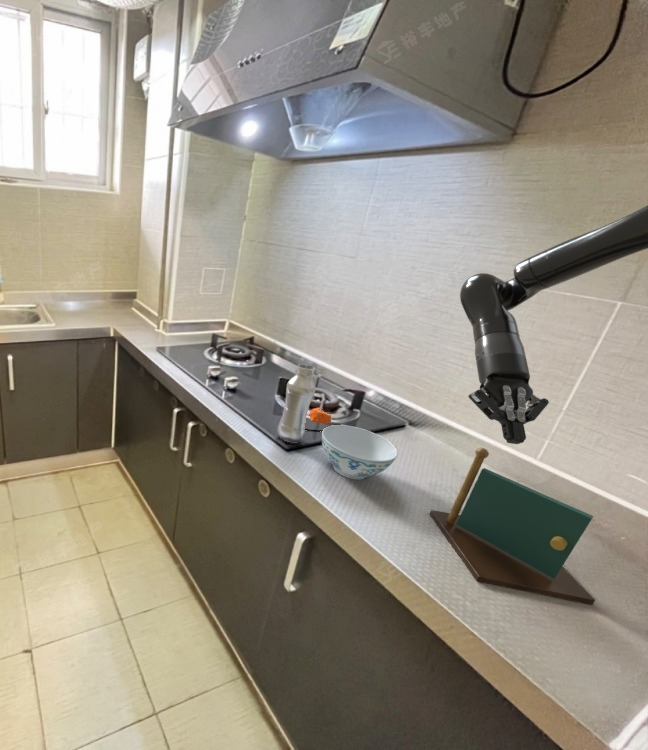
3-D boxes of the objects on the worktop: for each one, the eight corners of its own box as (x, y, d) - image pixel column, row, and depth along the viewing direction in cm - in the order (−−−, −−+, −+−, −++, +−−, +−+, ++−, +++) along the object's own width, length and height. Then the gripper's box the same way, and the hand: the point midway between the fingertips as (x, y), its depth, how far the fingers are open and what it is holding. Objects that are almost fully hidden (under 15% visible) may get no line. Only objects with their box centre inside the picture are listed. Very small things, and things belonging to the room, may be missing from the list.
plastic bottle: (302, 449, 96) (322, 373, 88) (274, 442, 98) (291, 368, 90) (302, 437, 101) (321, 365, 94) (275, 431, 103) (291, 360, 96)
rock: (329, 413, 117) (333, 400, 115) (348, 434, 105) (353, 420, 104) (290, 410, 116) (293, 397, 115) (305, 430, 105) (308, 416, 103)
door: (556, 576, 62) (593, 516, 58) (551, 583, 61) (589, 522, 56) (458, 522, 72) (484, 467, 68) (452, 527, 71) (478, 472, 67)
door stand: (520, 530, 74) (562, 453, 68) (592, 605, 59) (654, 515, 53) (429, 513, 76) (461, 438, 70) (476, 581, 62) (523, 493, 56)
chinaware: (309, 447, 97) (316, 420, 94) (373, 458, 94) (383, 431, 91) (321, 484, 83) (330, 453, 80) (397, 498, 80) (409, 466, 78)
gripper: (476, 347, 76) (490, 431, 70) (553, 356, 74) (575, 443, 68) (452, 363, 83) (463, 442, 76) (522, 372, 81) (539, 453, 74)
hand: (515, 442), depth 72 cm, fingers closed
